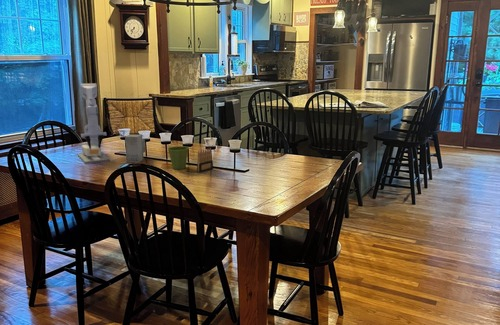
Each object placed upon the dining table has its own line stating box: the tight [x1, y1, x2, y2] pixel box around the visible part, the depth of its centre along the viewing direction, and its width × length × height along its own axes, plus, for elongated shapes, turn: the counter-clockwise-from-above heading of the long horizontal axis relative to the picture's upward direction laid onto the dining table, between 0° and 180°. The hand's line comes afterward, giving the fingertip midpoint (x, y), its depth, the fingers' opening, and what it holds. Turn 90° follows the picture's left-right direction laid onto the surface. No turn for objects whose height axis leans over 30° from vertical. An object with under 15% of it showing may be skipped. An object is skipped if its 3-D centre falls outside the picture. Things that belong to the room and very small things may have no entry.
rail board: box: [77, 144, 111, 165], centre depth 277 cm, size 26×14×6 cm, turn 29°
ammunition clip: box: [196, 147, 214, 174], centre depth 244 cm, size 11×2×12 cm, turn 142°
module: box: [86, 147, 102, 156], centre depth 276 cm, size 5×8×4 cm, turn 119°
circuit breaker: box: [124, 133, 146, 163], centre depth 272 cm, size 8×14×15 cm, turn 174°
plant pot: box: [167, 145, 190, 170], centre depth 250 cm, size 12×12×11 cm
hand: (94, 148), depth 276 cm, fingers closed on module, 5 cm apart
